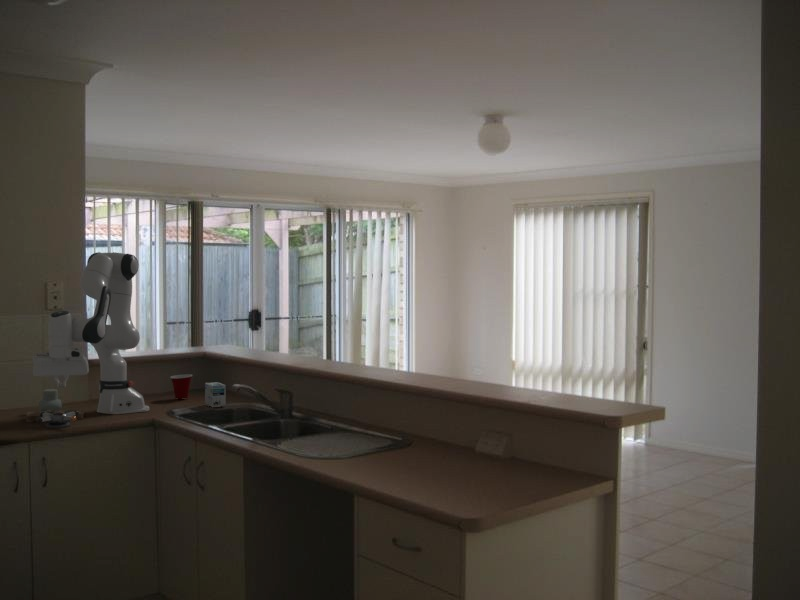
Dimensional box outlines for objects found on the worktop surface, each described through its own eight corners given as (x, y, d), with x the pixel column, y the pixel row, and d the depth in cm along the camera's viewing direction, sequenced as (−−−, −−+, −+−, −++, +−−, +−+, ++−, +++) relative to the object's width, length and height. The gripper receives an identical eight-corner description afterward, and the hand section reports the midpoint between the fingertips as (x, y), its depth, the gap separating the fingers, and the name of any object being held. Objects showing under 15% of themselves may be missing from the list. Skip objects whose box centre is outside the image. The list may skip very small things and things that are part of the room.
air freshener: (62, 413, 335) (62, 391, 335) (41, 415, 331) (41, 392, 330) (58, 409, 344) (58, 387, 344) (38, 411, 340) (38, 389, 340)
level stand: (82, 414, 333) (82, 405, 333) (83, 418, 324) (83, 408, 324) (27, 418, 324) (27, 408, 324) (26, 422, 315) (26, 412, 315)
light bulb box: (226, 407, 357) (226, 384, 357) (212, 408, 353) (212, 385, 353) (217, 403, 366) (217, 381, 366) (204, 405, 362) (204, 382, 362)
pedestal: (69, 423, 314) (69, 421, 314) (70, 427, 306) (70, 425, 306) (45, 425, 310) (45, 422, 310) (45, 429, 302) (45, 426, 302)
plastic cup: (172, 397, 382) (172, 373, 382) (194, 397, 383) (194, 373, 383) (167, 401, 371) (167, 376, 371) (190, 401, 373) (190, 376, 372)
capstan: (19, 424, 303) (19, 413, 303) (61, 416, 321) (61, 405, 321) (54, 430, 295) (54, 418, 295) (95, 421, 313) (95, 410, 312)
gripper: (30, 354, 296) (31, 389, 297) (86, 352, 301) (87, 387, 302) (34, 352, 302) (35, 386, 303) (89, 350, 307) (89, 384, 308)
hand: (61, 386), depth 302 cm, fingers closed
